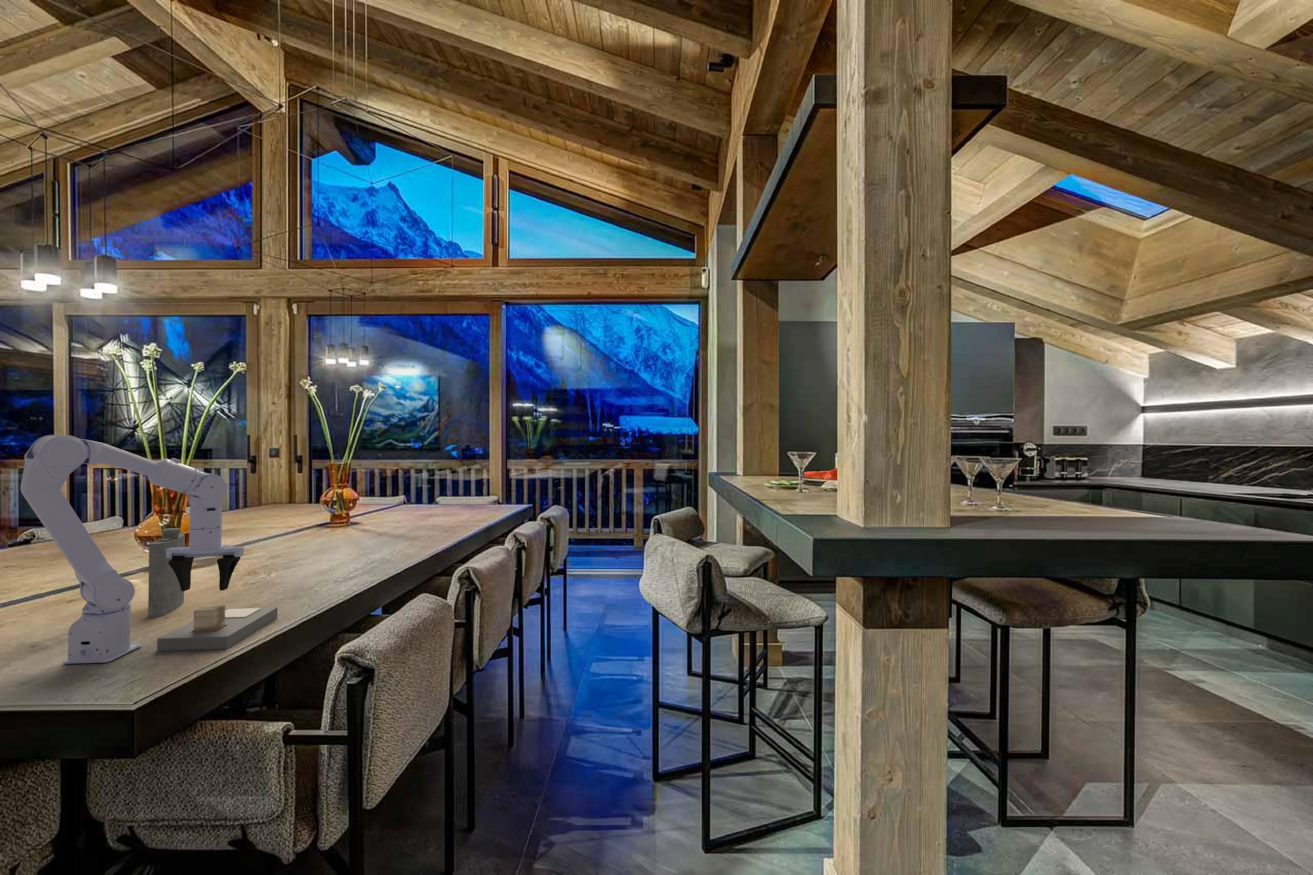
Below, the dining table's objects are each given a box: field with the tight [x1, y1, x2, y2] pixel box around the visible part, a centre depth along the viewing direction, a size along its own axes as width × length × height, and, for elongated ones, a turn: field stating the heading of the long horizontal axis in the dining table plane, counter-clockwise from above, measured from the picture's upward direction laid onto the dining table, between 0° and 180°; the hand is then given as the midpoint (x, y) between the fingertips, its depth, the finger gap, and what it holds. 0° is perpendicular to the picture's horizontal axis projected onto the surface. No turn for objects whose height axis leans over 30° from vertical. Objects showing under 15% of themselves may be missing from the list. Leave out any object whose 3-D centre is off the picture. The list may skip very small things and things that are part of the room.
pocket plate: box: [156, 606, 278, 652], centre depth 137 cm, size 22×13×3 cm, turn 8°
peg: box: [193, 604, 226, 632], centre depth 132 cm, size 4×4×7 cm
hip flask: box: [147, 527, 186, 618], centre depth 156 cm, size 16×4×20 cm, turn 21°
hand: (204, 589), depth 137 cm, fingers open, 7 cm apart
